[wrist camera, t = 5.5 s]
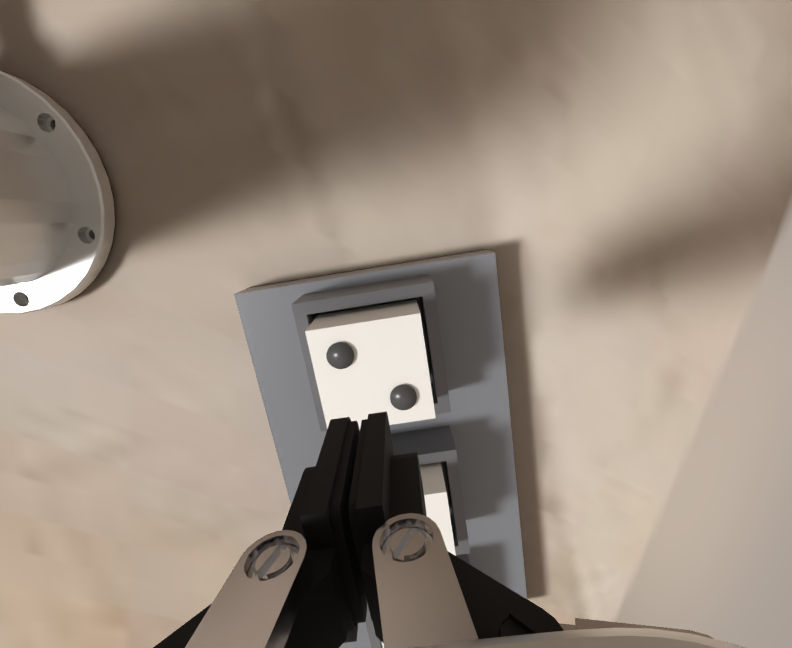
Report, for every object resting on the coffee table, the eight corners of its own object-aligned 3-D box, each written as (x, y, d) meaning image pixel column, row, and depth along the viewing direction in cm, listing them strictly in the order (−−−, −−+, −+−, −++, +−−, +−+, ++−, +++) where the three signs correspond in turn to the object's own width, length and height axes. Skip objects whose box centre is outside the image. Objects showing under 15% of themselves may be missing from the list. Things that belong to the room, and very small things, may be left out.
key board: (247, 288, 23) (213, 304, 18) (486, 249, 22) (509, 256, 18) (335, 625, 29) (325, 695, 25) (520, 600, 29) (543, 667, 25)
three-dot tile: (350, 468, 22) (344, 508, 19) (439, 455, 22) (447, 494, 19) (366, 540, 23) (363, 589, 20) (450, 529, 23) (458, 576, 20)
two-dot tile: (317, 314, 20) (304, 332, 17) (416, 299, 20) (420, 314, 16) (337, 404, 21) (328, 435, 18) (429, 390, 21) (436, 419, 18)
